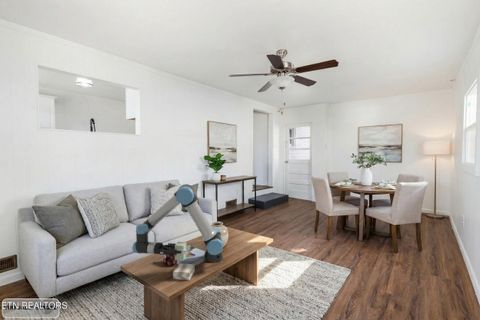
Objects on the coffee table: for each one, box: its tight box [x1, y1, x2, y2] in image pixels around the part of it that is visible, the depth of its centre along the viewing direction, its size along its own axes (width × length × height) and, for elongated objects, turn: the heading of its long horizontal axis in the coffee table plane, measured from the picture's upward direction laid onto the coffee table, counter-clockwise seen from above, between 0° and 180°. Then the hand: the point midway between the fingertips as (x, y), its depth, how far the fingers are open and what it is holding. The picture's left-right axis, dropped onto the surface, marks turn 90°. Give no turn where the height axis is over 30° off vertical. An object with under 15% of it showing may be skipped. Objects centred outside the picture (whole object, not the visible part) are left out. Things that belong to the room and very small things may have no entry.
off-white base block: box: [172, 263, 196, 281], centre depth 158 cm, size 11×11×5 cm
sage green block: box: [175, 241, 188, 261], centre depth 158 cm, size 6×6×10 cm
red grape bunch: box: [162, 255, 179, 267], centre depth 175 cm, size 7×12×10 cm, turn 49°
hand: (188, 249), depth 157 cm, fingers closed on sage green block, 6 cm apart
